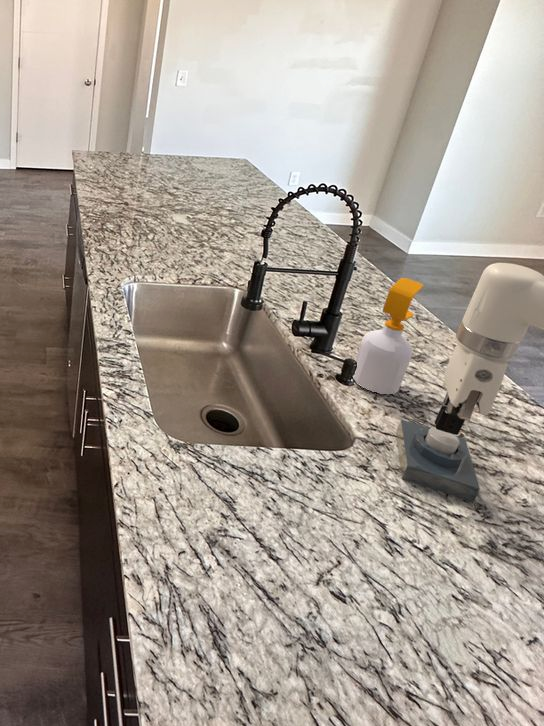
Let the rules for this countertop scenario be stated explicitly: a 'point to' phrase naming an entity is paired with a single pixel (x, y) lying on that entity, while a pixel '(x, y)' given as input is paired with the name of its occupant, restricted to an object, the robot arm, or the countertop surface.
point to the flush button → (442, 441)
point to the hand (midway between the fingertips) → (445, 429)
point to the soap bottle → (388, 343)
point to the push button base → (435, 463)
